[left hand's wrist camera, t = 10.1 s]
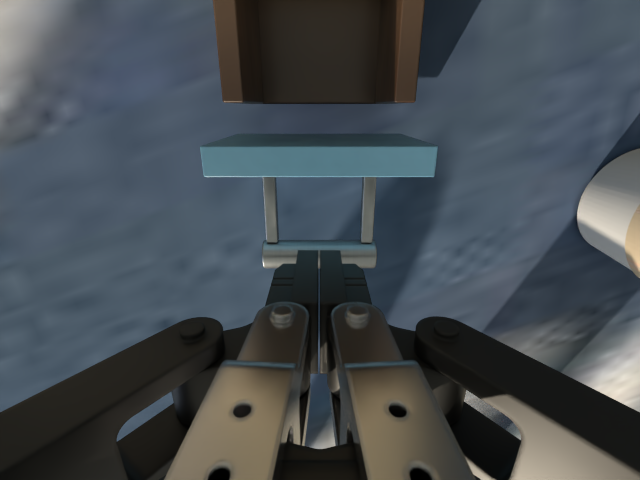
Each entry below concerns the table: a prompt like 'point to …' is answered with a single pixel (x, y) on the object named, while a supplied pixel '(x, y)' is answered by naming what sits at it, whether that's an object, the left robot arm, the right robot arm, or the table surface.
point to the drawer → (319, 101)
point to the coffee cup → (614, 211)
